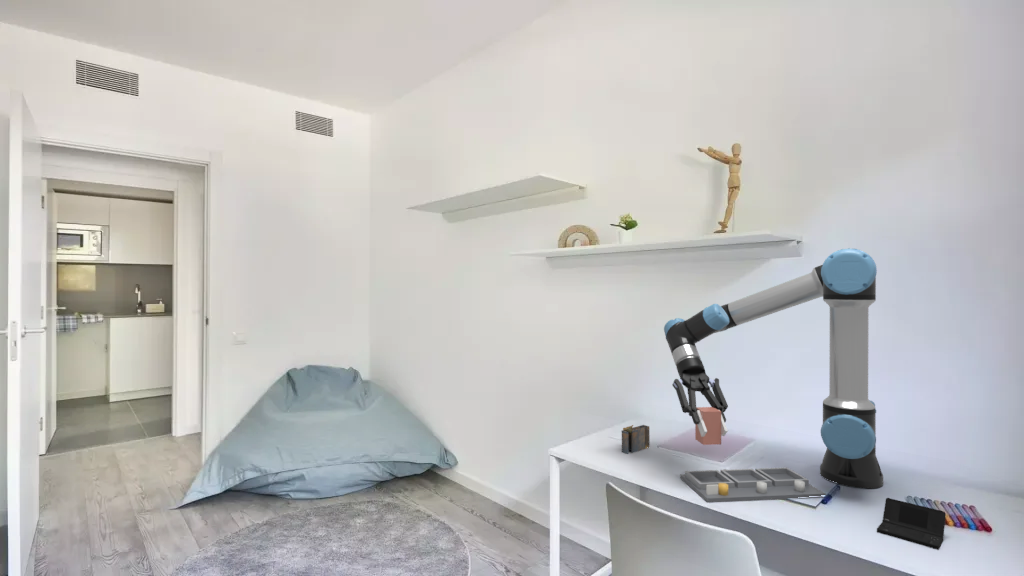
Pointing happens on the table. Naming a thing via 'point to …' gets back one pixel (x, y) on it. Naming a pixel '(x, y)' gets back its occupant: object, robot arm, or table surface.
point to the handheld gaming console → (913, 523)
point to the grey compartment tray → (749, 484)
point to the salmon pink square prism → (709, 426)
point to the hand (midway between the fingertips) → (714, 433)
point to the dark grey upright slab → (635, 438)
